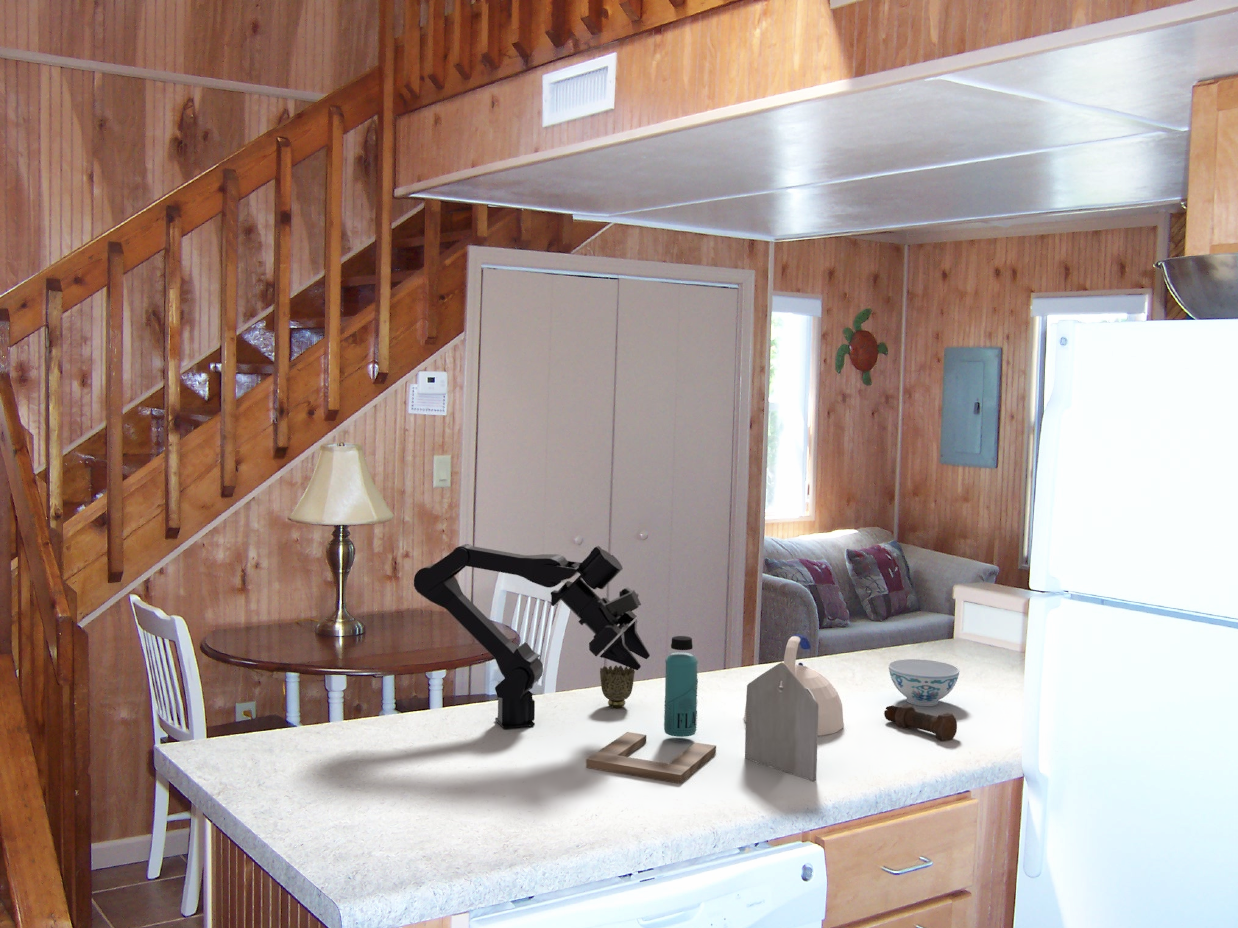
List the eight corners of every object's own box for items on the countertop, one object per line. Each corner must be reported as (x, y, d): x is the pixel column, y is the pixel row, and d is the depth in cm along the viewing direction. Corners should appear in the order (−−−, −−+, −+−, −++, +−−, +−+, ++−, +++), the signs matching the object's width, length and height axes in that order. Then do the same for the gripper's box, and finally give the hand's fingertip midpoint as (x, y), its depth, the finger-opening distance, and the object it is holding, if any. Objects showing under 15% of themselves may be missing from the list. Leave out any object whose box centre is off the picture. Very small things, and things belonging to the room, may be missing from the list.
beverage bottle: (673, 746, 214) (676, 641, 213) (656, 736, 220) (658, 634, 219) (703, 742, 217) (705, 639, 216) (685, 732, 223) (687, 632, 222)
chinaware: (966, 699, 251) (967, 665, 250) (946, 715, 238) (947, 679, 238) (900, 689, 259) (901, 655, 258) (877, 703, 246) (878, 668, 246)
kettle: (731, 729, 226) (733, 640, 225) (758, 703, 245) (760, 621, 244) (832, 743, 218) (835, 651, 217) (852, 715, 237) (855, 630, 236)
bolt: (890, 729, 234) (951, 746, 222) (876, 721, 231) (937, 737, 219) (900, 703, 236) (961, 718, 223) (885, 694, 233) (946, 709, 221)
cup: (633, 711, 237) (634, 673, 236) (598, 710, 237) (599, 673, 236) (634, 701, 244) (634, 665, 244) (599, 700, 244) (600, 664, 244)
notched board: (680, 783, 194) (680, 774, 194) (586, 767, 202) (586, 758, 202) (715, 753, 211) (715, 745, 211) (627, 739, 218) (627, 731, 218)
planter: (842, 772, 202) (845, 664, 200) (814, 781, 196) (817, 671, 195) (772, 749, 214) (774, 647, 213) (743, 757, 209) (746, 654, 207)
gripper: (604, 585, 212) (663, 644, 210) (625, 569, 230) (680, 624, 228) (564, 625, 214) (623, 685, 212) (588, 607, 232) (642, 662, 230)
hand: (643, 662), depth 220 cm, fingers open, 9 cm apart
